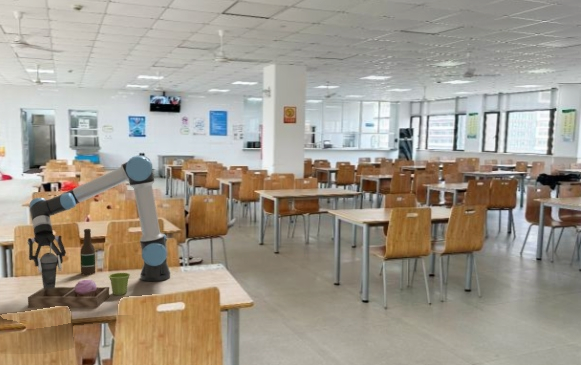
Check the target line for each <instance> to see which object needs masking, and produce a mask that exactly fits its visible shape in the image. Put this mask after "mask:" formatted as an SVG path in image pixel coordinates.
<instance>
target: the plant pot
mask: <svg viewBox="0 0 581 365" xmlns="http://www.w3.org/2000/svg"><path fill="white" fill-rule="evenodd" d="M130 277H131V274H130V273H128V272H116V273H111V274H109V275H108V278H109V280H110V285H111V290H112V294H113V295H116V296H121V295H124V294H127V292H128V291H127V290H128V285H129V284H128V283H129V278H130Z"/></svg>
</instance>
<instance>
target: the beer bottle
mask: <svg viewBox="0 0 581 365" xmlns="http://www.w3.org/2000/svg"><path fill="white" fill-rule="evenodd" d="M91 230H92V229H90V228H86V229H85V228H84V229H83V233H84V235H83V244H82V246H81V247H80V252H79V253H80V273H81V274H80V275H82V274H84V275H83V276H89V274H91V275H93V273H94V274H96V248H95V247H94V245H93V244H92V236H91V233H92V231H91Z"/></svg>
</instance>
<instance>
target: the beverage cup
mask: <svg viewBox="0 0 581 365" xmlns="http://www.w3.org/2000/svg"><path fill="white" fill-rule="evenodd" d="M51 246H52V243H51V244H50V246H49V252H46V253H44V254H43V255H41V257H40V262H41V268H42V272H41V280H42V288H44V289H53V288H55V287H56V279H57V278H56V277H57V268H58V260H57V255H56V254H55V253H54V252H52V248H51Z"/></svg>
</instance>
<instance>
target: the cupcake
mask: <svg viewBox="0 0 581 365" xmlns="http://www.w3.org/2000/svg"><path fill="white" fill-rule="evenodd" d="M74 287H75V292H77V296H78V297H94V295H95V291H96V289H97V287H98V286H97V284H96V282H95V281H94V280H92V279H84V280H79V281H78V282H77V283H76V284H75V286H74Z"/></svg>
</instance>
